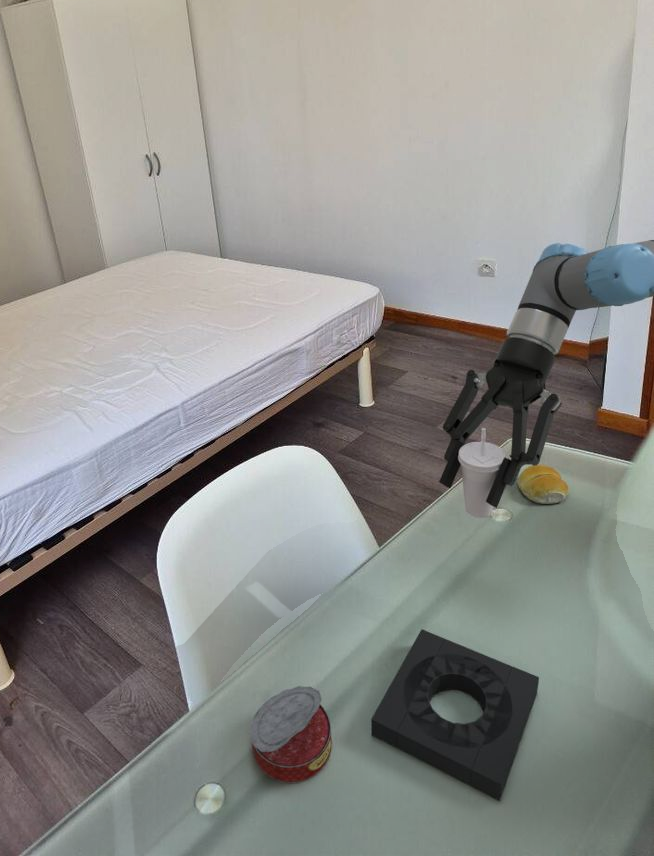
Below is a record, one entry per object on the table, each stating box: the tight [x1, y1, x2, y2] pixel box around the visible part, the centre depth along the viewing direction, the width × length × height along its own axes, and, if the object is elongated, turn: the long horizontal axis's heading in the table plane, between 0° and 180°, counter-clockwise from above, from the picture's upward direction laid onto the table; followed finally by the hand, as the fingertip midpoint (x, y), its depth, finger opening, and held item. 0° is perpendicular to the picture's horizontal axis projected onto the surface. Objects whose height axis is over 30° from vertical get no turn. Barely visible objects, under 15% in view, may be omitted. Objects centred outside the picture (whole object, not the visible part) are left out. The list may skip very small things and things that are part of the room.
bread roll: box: [517, 464, 570, 505], centre depth 126 cm, size 8×9×4 cm
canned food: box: [249, 685, 333, 784], centre depth 84 cm, size 11×10×10 cm
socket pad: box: [370, 628, 540, 802], centre depth 87 cm, size 16×16×3 cm
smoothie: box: [458, 427, 507, 519], centre depth 96 cm, size 6×6×14 cm
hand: (467, 494), depth 95 cm, fingers closed on smoothie, 6 cm apart
